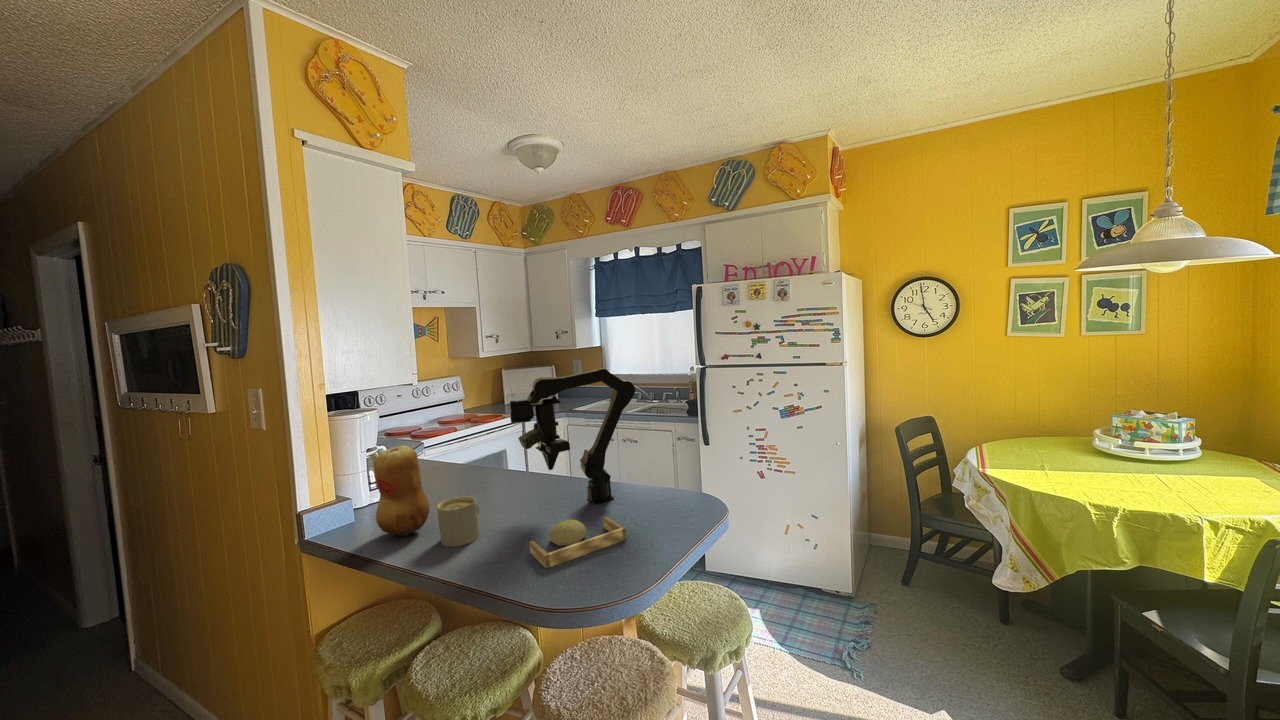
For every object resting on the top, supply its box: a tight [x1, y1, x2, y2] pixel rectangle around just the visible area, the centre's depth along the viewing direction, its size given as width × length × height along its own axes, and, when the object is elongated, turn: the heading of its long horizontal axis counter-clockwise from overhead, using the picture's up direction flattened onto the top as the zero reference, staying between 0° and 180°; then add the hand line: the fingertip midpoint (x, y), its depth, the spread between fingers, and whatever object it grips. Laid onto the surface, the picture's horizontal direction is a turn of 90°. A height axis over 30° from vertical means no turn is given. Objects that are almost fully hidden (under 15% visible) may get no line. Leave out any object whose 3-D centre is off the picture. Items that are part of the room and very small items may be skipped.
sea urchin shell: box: [549, 519, 587, 547], centre depth 132 cm, size 9×8×8 cm
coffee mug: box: [436, 495, 481, 548], centre depth 139 cm, size 13×10×10 cm
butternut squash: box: [373, 445, 430, 537], centre depth 143 cm, size 14×13×25 cm
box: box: [529, 516, 627, 569], centre depth 127 cm, size 22×10×3 cm, turn 123°
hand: (550, 469), depth 154 cm, fingers closed
